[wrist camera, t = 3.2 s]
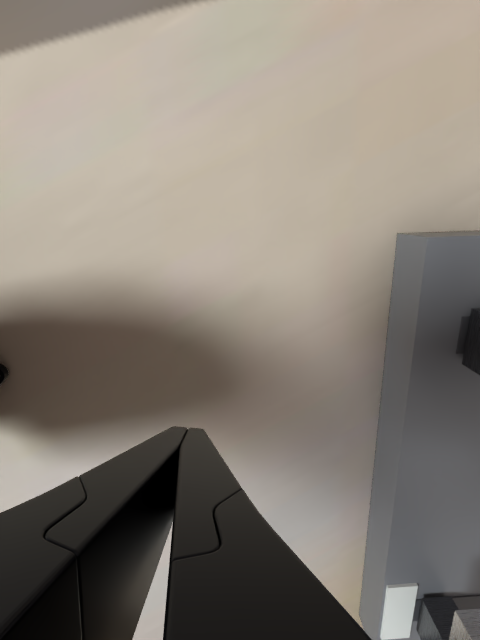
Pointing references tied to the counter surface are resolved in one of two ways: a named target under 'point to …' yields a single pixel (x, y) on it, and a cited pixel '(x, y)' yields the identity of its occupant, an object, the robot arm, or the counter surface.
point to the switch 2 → (473, 342)
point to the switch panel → (425, 440)
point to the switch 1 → (447, 620)
